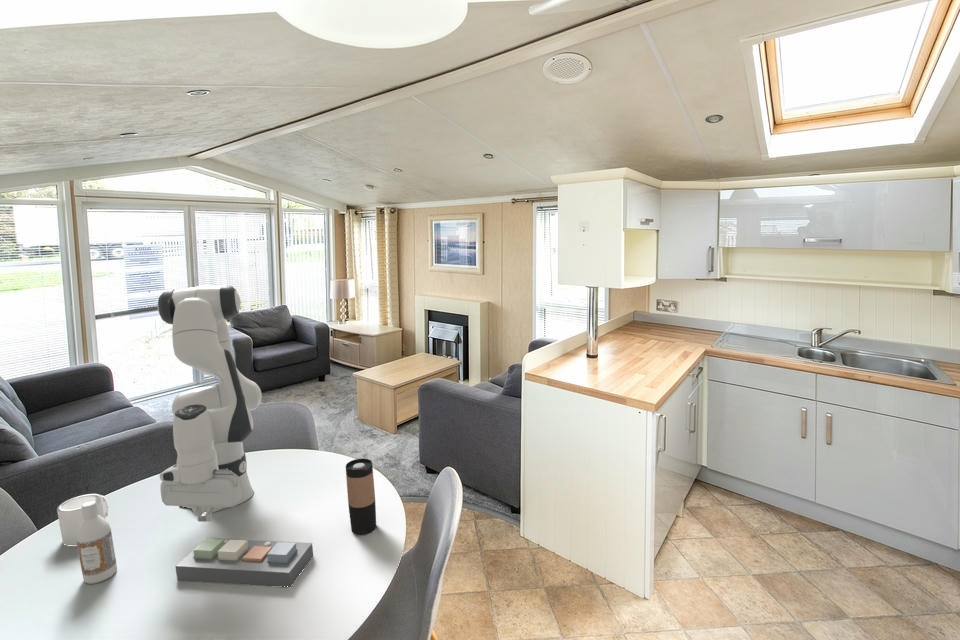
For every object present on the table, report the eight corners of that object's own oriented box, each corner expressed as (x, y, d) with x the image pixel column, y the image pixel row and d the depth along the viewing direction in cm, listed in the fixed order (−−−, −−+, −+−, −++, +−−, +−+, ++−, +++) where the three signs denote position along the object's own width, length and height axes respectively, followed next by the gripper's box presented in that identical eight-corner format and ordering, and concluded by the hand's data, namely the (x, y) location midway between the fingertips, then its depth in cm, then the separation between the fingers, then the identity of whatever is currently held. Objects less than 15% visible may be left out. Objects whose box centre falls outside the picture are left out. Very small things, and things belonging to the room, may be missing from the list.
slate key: (268, 568, 124) (267, 553, 123) (279, 556, 129) (277, 542, 128) (287, 569, 123) (285, 554, 123) (297, 557, 128) (295, 542, 128)
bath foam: (77, 587, 123) (64, 512, 120) (92, 569, 130) (80, 498, 127) (109, 581, 125) (97, 508, 121) (122, 564, 131) (111, 494, 128)
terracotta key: (244, 572, 125) (242, 557, 125) (255, 559, 130) (254, 545, 130) (262, 573, 125) (261, 558, 124) (273, 560, 129) (272, 546, 129)
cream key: (219, 565, 126) (217, 551, 125) (231, 553, 131) (229, 539, 130) (237, 566, 125) (235, 552, 125) (249, 554, 130) (247, 540, 130)
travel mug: (352, 522, 148) (347, 459, 145) (378, 520, 148) (374, 457, 145) (348, 537, 140) (342, 470, 137) (375, 534, 141) (370, 469, 138)
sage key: (195, 564, 127) (193, 549, 126) (208, 552, 132) (206, 538, 131) (212, 565, 126) (211, 550, 126) (225, 553, 131) (223, 539, 130)
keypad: (177, 580, 124) (175, 564, 123) (209, 551, 136) (207, 536, 135) (290, 587, 120) (288, 571, 119) (313, 556, 132) (312, 542, 131)
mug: (89, 521, 154) (83, 489, 152) (122, 519, 154) (117, 487, 152) (53, 547, 140) (47, 512, 139) (90, 545, 141) (84, 510, 139)
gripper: (243, 464, 127) (249, 515, 129) (172, 463, 130) (178, 512, 131) (228, 476, 121) (234, 528, 122) (153, 474, 123) (160, 526, 125)
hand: (205, 520), depth 127 cm, fingers closed
